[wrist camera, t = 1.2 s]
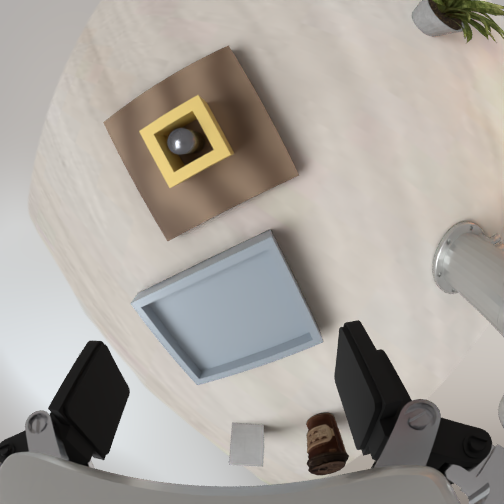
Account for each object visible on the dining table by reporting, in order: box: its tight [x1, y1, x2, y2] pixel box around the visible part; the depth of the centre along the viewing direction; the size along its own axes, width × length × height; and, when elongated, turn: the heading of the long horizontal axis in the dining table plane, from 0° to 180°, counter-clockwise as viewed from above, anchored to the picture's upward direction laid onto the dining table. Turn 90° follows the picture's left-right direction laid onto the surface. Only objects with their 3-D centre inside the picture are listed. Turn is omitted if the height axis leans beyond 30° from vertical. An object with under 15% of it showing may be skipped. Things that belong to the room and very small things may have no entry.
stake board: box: [103, 46, 299, 241], centre depth 31 cm, size 18×18×2 cm
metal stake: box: [167, 128, 205, 155], centre depth 27 cm, size 3×3×6 cm
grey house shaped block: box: [229, 423, 264, 466], centre depth 47 cm, size 4×7×10 cm, turn 85°
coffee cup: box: [306, 413, 349, 475], centre depth 45 cm, size 9×8×13 cm
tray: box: [131, 229, 323, 385], centre depth 39 cm, size 22×18×3 cm
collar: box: [139, 95, 234, 188], centre depth 27 cm, size 7×7×5 cm
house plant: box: [412, 0, 504, 42], centre depth 16 cm, size 14×14×16 cm
